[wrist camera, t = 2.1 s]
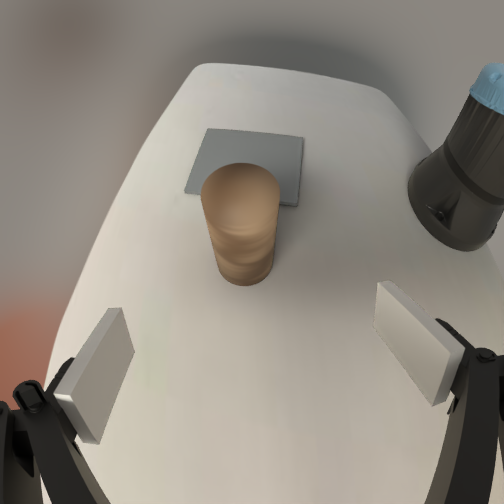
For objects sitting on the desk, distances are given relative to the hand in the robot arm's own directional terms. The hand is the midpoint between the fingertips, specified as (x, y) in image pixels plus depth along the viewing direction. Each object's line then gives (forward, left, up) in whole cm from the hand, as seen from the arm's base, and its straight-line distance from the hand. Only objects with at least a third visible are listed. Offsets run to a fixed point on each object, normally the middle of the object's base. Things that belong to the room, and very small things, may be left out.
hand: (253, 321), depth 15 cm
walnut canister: (+3, -10, -16) cm, 19 cm away
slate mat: (+5, -24, -16) cm, 29 cm away
